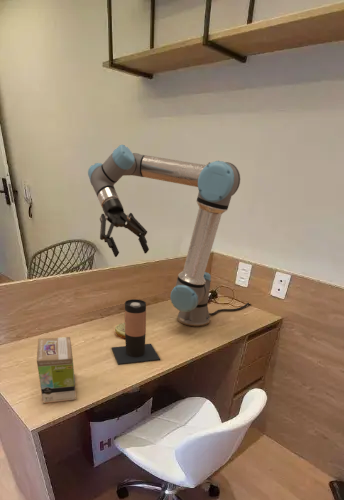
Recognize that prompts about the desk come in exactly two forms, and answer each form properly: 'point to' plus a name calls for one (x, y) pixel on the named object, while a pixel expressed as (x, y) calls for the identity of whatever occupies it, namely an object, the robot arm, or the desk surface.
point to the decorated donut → (120, 330)
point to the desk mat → (125, 359)
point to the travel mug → (135, 327)
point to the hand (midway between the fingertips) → (132, 253)
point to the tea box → (56, 369)
